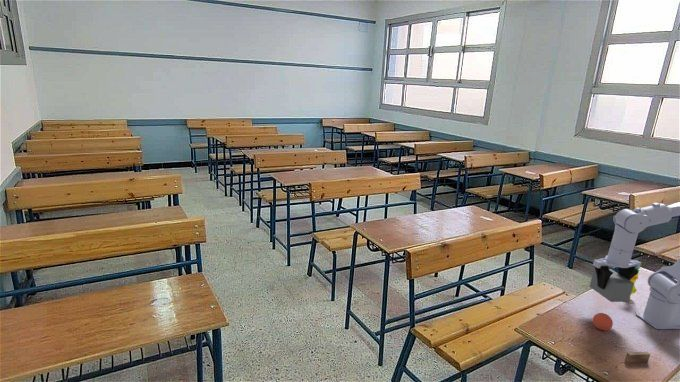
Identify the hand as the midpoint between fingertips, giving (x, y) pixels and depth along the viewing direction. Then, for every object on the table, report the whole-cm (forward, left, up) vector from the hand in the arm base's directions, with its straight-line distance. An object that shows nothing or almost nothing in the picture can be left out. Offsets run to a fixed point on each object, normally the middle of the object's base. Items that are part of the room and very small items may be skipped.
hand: (610, 287), depth 121 cm
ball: (+6, +7, -8) cm, 12 cm away
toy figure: (-18, -10, -11) cm, 23 cm away
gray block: (0, 0, -2) cm, 2 cm away
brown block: (+7, +21, -10) cm, 24 cm away
